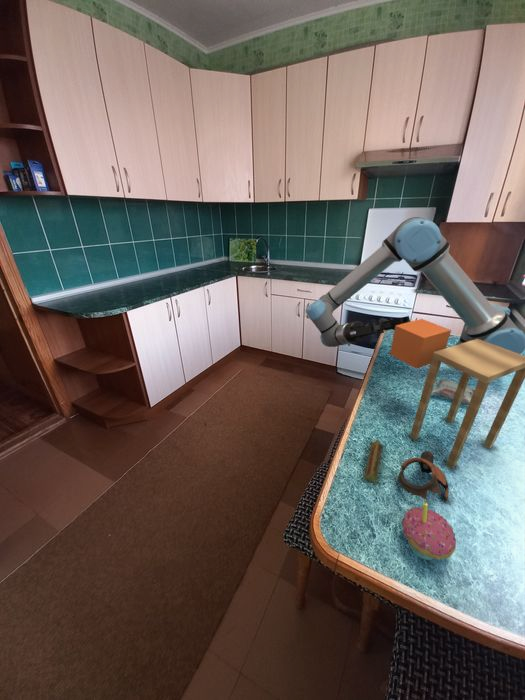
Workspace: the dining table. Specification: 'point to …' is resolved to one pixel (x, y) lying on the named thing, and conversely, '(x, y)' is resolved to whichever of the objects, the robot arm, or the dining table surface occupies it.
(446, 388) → the packaged food
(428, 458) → the rusty ring bracket
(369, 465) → the chocolate bar
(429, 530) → the cupcake
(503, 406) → the wooden stool
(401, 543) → the dining table surface
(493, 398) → the dining table surface
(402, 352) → the orange handled block
